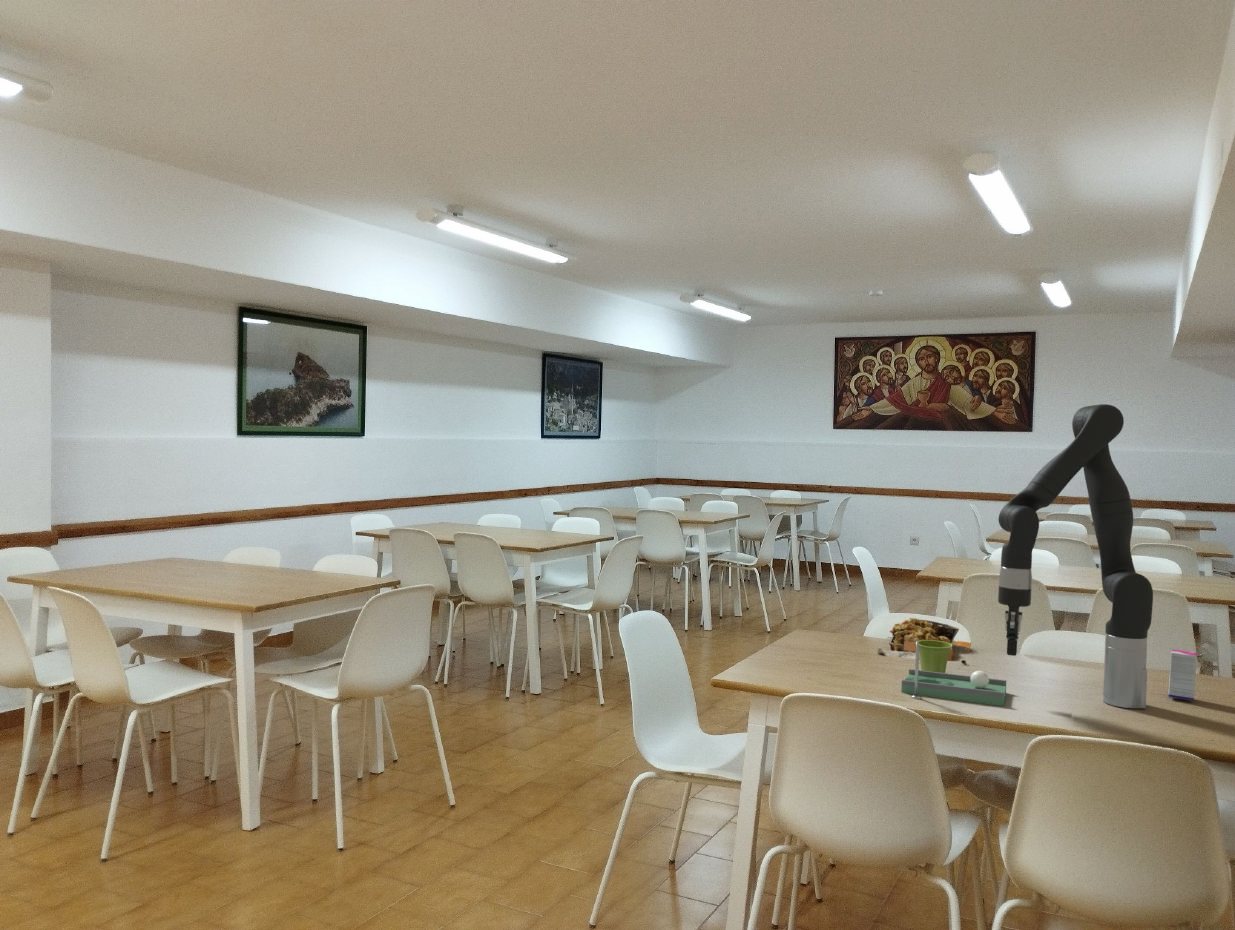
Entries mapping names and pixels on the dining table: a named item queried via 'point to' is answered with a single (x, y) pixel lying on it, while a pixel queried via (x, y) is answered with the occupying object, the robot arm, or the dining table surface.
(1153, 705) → the dining table surface
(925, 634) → the food tray
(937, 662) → the plant pot
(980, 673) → the ball
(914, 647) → the pin
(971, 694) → the lane
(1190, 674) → the supplement box
